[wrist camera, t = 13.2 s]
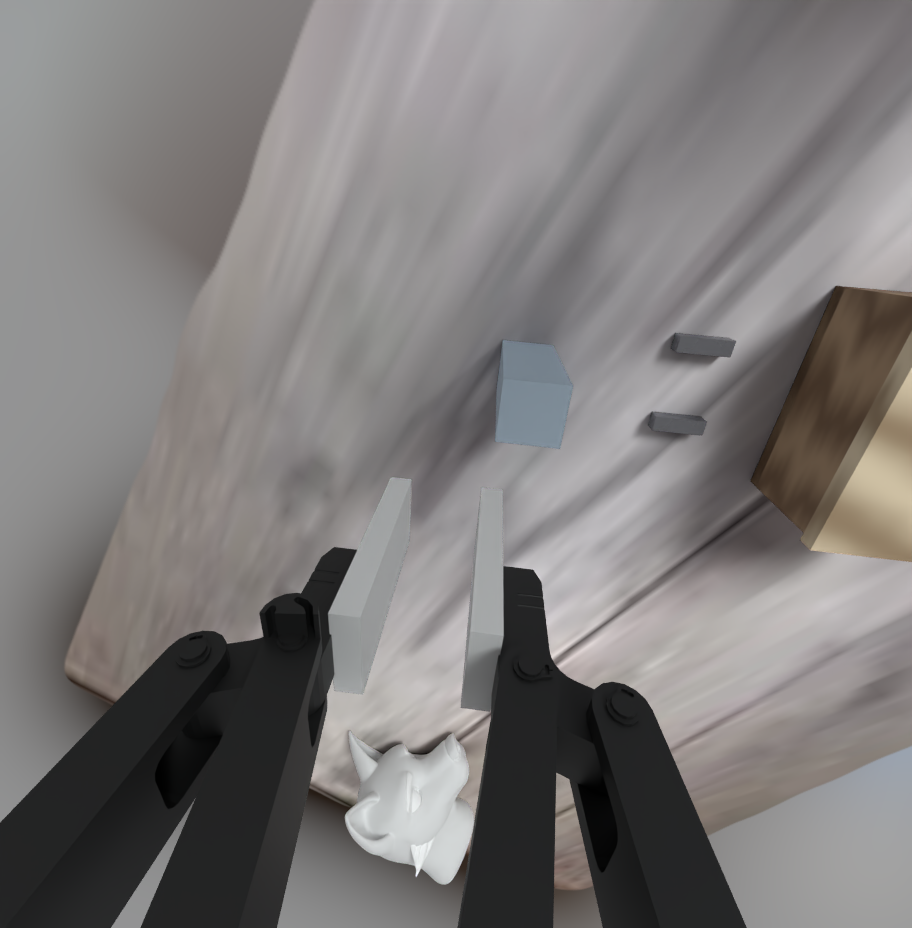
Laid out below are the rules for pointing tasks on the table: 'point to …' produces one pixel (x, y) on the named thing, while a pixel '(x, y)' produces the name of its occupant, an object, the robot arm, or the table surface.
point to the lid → (873, 479)
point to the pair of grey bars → (691, 346)
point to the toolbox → (832, 396)
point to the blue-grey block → (531, 395)
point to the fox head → (413, 806)
